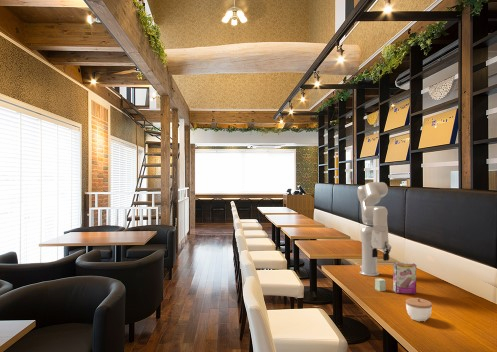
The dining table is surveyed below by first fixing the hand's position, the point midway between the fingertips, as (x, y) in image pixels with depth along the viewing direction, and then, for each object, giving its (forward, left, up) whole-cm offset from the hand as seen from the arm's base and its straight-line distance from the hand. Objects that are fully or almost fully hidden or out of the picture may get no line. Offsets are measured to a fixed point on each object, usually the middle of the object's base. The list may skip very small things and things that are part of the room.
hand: (380, 258), depth 200 cm
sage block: (0, 0, -18) cm, 18 cm away
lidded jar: (+41, -11, -18) cm, 46 cm away
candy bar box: (+8, +10, -18) cm, 22 cm away
